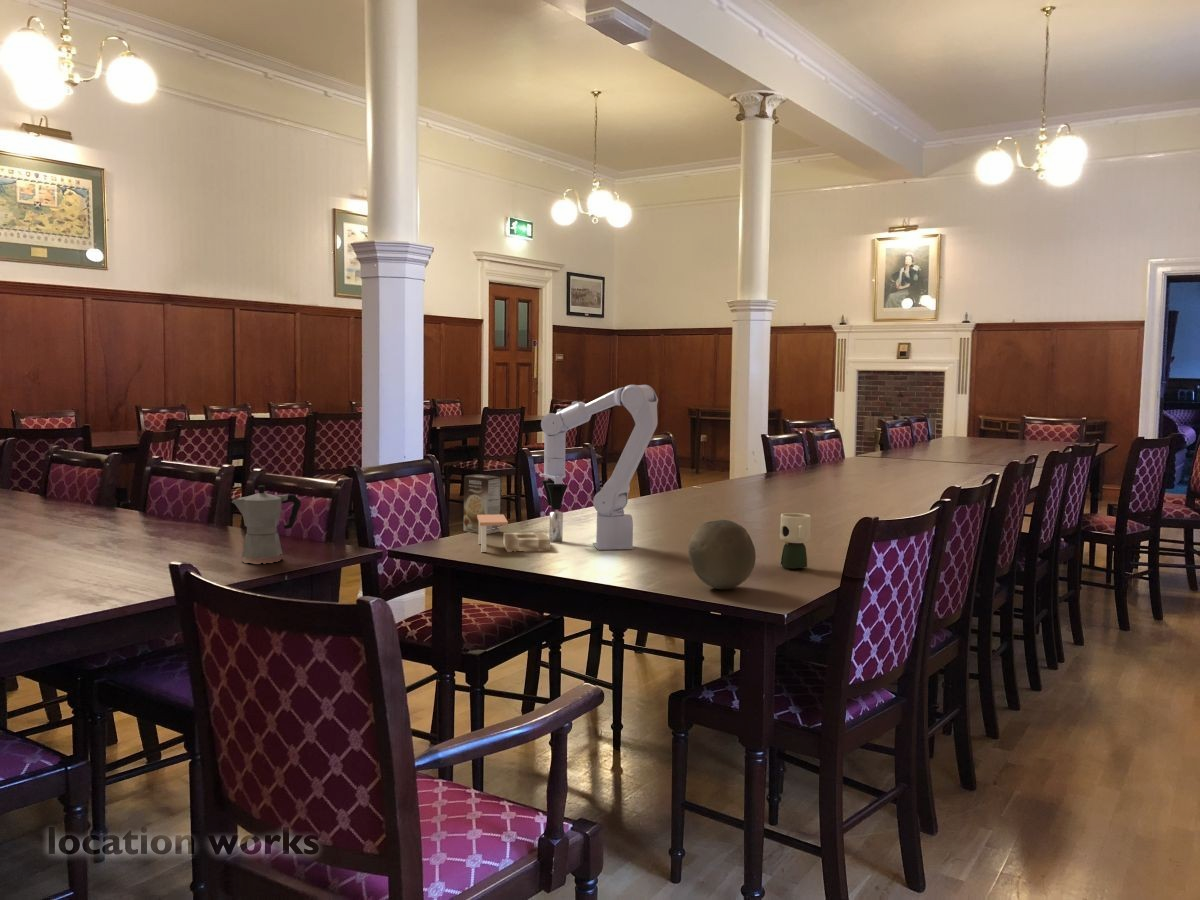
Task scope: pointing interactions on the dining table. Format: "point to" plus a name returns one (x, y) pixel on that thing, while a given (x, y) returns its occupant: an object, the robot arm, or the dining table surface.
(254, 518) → the coffeepot
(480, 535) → the peach and white stand
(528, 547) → the socket block
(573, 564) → the dining table surface
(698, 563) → the cantaloupe
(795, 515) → the character mug
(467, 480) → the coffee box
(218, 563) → the dining table surface
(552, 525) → the peg
